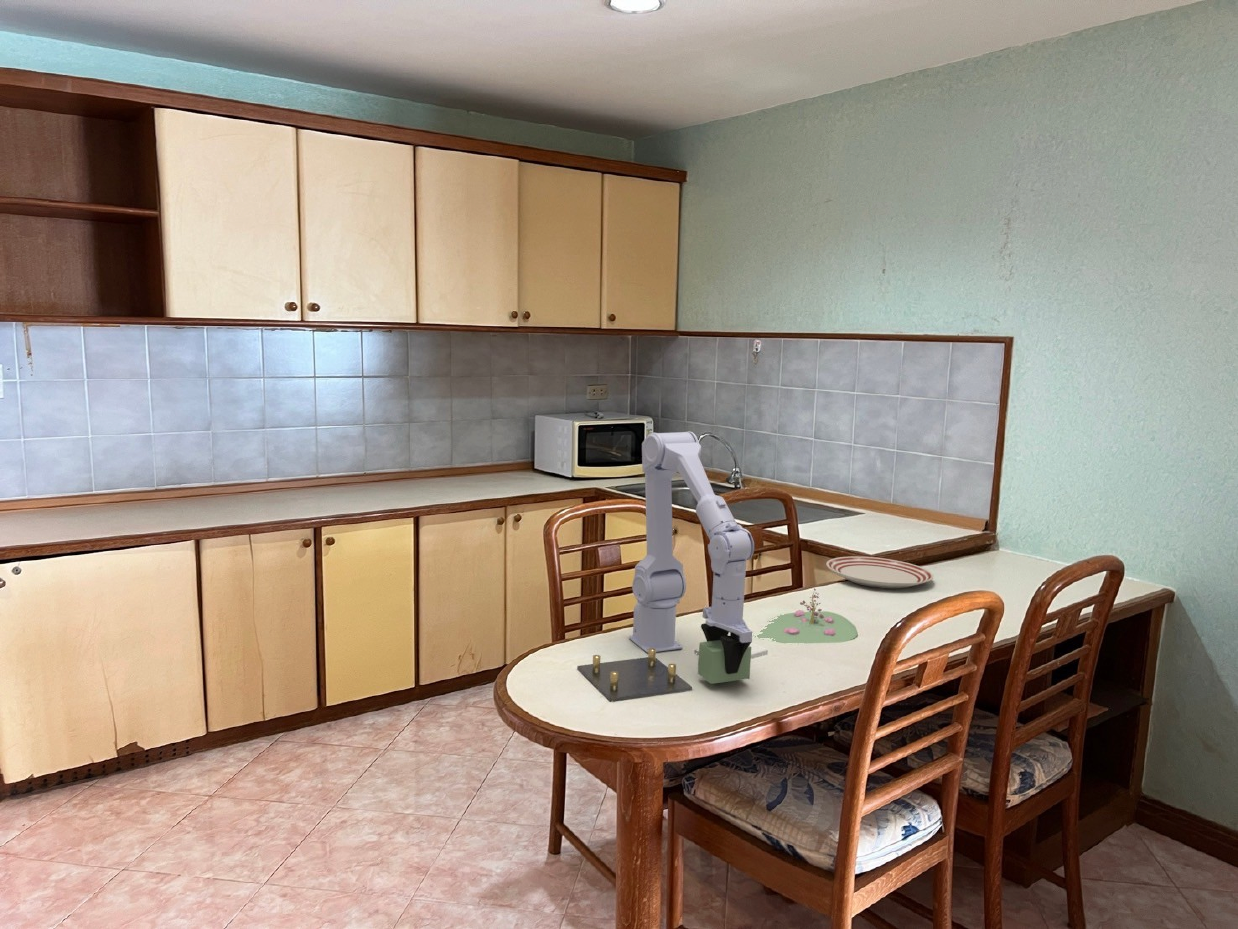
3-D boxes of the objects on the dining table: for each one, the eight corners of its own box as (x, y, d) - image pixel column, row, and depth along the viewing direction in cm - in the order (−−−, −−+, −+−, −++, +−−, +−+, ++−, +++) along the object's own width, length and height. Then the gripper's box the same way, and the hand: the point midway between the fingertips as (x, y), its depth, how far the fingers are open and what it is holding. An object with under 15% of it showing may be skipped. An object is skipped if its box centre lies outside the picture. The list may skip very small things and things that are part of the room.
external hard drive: (767, 656, 184) (722, 669, 177) (738, 644, 191) (694, 656, 183) (767, 649, 184) (723, 661, 177) (738, 637, 191) (694, 648, 183)
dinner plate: (868, 561, 262) (869, 550, 262) (953, 584, 241) (954, 572, 240) (804, 574, 246) (804, 562, 245) (889, 601, 224) (890, 588, 224)
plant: (806, 658, 184) (809, 615, 183) (729, 630, 200) (731, 590, 198) (876, 633, 201) (879, 593, 199) (800, 609, 216) (802, 572, 215)
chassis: (577, 668, 173) (577, 650, 172) (653, 659, 179) (654, 641, 179) (610, 701, 158) (610, 682, 158) (692, 690, 165) (693, 671, 164)
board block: (697, 673, 169) (699, 642, 168) (735, 668, 172) (737, 638, 171) (711, 683, 164) (712, 651, 163) (749, 678, 168) (751, 647, 167)
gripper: (689, 586, 171) (686, 655, 173) (729, 609, 158) (724, 684, 160) (722, 583, 174) (719, 651, 176) (764, 606, 160) (759, 679, 163)
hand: (724, 667), depth 168 cm, fingers closed on board block, 5 cm apart
